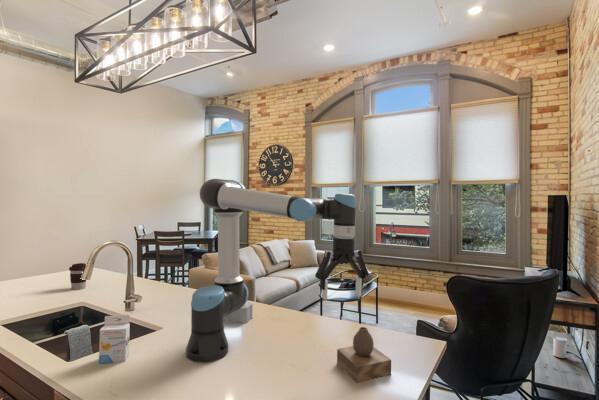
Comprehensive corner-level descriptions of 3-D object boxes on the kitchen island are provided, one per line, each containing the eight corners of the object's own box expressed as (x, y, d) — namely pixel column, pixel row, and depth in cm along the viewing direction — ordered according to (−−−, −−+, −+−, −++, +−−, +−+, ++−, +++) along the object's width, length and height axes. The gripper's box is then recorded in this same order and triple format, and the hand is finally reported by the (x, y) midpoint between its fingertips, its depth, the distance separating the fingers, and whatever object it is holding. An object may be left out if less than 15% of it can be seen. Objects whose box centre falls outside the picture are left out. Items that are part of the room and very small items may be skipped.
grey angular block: (244, 324, 148) (244, 305, 147) (219, 321, 152) (219, 302, 152) (254, 317, 157) (254, 299, 157) (231, 313, 161) (231, 296, 161)
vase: (361, 360, 106) (361, 333, 106) (348, 351, 112) (349, 326, 112) (377, 356, 109) (378, 330, 109) (364, 347, 115) (365, 323, 115)
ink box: (98, 364, 111) (98, 321, 111) (103, 357, 116) (104, 315, 116) (125, 361, 113) (126, 319, 113) (129, 355, 118) (130, 314, 118)
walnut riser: (356, 382, 102) (357, 366, 102) (337, 363, 114) (337, 348, 114) (391, 375, 107) (391, 359, 107) (368, 356, 119) (368, 343, 119)
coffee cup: (64, 290, 197) (64, 265, 197) (78, 285, 207) (78, 262, 207) (78, 291, 195) (79, 266, 195) (92, 286, 205) (92, 263, 205)
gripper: (316, 239, 107) (313, 303, 107) (379, 238, 116) (377, 297, 116) (307, 236, 114) (305, 296, 114) (368, 235, 123) (365, 291, 123)
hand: (341, 297), depth 115 cm, fingers open, 13 cm apart
